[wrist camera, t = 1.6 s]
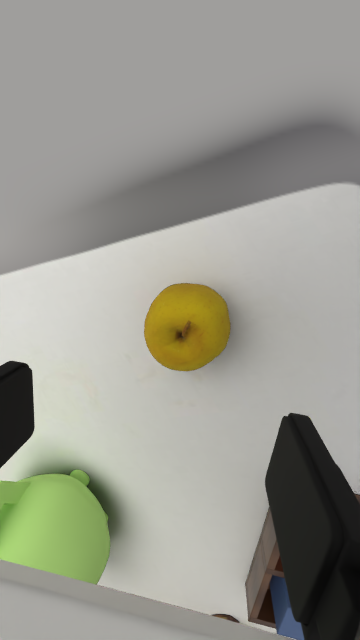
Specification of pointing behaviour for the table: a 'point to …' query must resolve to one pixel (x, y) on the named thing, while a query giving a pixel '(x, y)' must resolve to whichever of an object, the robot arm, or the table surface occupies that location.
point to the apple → (187, 326)
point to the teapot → (54, 526)
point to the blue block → (284, 610)
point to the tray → (264, 575)
